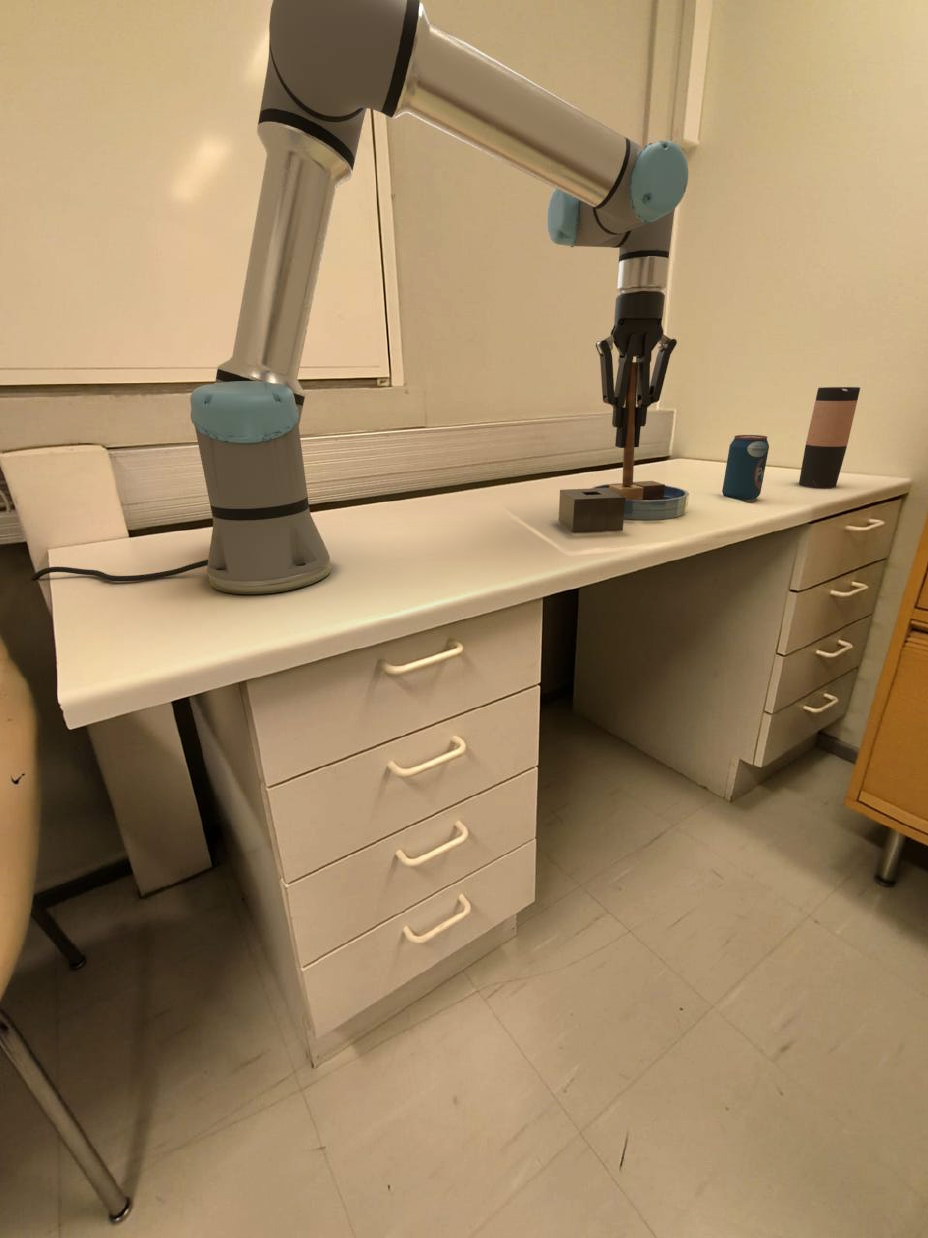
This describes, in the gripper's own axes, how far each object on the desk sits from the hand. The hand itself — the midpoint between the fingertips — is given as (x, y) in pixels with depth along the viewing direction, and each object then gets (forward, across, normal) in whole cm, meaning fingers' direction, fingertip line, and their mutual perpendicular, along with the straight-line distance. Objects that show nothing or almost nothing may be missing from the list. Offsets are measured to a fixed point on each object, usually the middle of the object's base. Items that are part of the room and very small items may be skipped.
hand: (626, 446), depth 99 cm
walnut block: (+11, -5, 0) cm, 12 cm away
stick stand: (+12, +10, +11) cm, 19 cm away
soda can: (+12, -28, -7) cm, 31 cm away
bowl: (+12, -2, +1) cm, 12 cm away
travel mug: (+12, -52, -17) cm, 56 cm away
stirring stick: (+6, 0, +2) cm, 7 cm away
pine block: (+11, 0, +2) cm, 11 cm away
